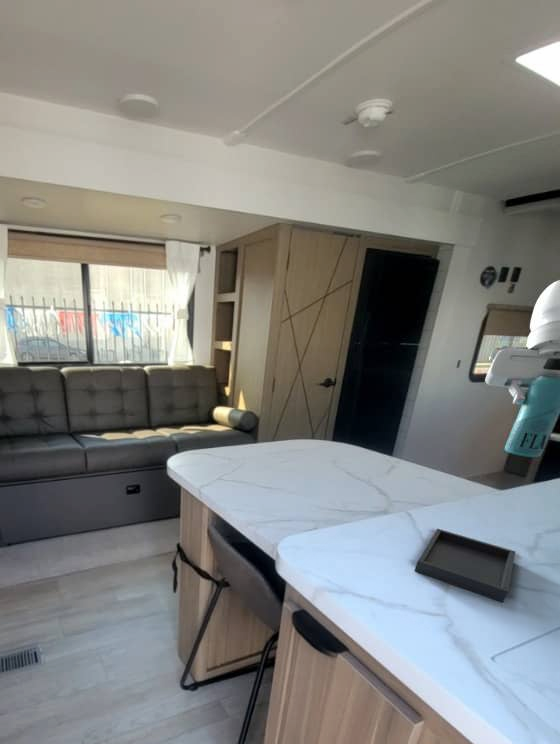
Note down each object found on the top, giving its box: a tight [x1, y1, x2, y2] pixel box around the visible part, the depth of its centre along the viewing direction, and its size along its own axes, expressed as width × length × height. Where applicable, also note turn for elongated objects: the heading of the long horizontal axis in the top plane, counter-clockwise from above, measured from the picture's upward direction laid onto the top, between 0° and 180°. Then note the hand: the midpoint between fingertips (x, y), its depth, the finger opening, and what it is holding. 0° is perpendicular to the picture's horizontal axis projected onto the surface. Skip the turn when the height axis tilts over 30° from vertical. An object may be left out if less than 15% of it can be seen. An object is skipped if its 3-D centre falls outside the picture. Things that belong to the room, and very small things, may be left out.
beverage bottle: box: [504, 358, 560, 458], centre depth 81 cm, size 6×7×20 cm
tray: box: [414, 528, 516, 603], centre depth 72 cm, size 17×13×2 cm
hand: (543, 404), depth 80 cm, fingers closed on beverage bottle, 6 cm apart
